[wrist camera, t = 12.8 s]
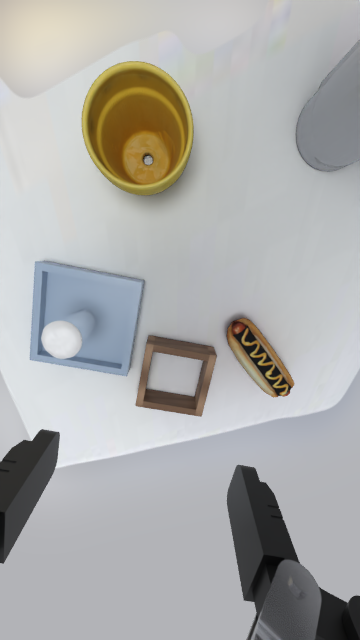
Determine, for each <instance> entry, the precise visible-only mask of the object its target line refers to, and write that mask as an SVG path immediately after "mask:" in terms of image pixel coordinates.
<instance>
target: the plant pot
mask: <svg viewBox="0 0 360 640" xmlns="http://www.w3.org/2000/svg"><path fill="white" fill-rule="evenodd" d="M82 132H83V137H84V142H85V145H86V148H87V151H88V153H89V155H90V157H91V159H92V160H93V162H94V163H95V165H96V166H97V168H98V169H99V170H100V171H101V173H102V174H103V175H104V176H105V177H106V178H107V179H108V180H109V181H110V182H112V183H113V184H114V185H115V186H117V187H118V188H120V189H122V190H124V191H126V192H129V193H132V194H136V195H152V194H156V193H159V192H162V191H164V190H165V189H167V188H168V187H170V186H171V185H172V184H173V183H175V181H176V180H177V179H178V178H179V177H180V175H181V174H182V172H183V171H184V169H185V167H186V164H187V162H188V159H189V156H190V153H191V148H192V143H193V119H192V113H191V110H190V106H189V103H188V101H187V99H186V97H185V95H184V93H183V91H182V90H181V88H180V86H179V85H178V84H177V83H176V82H175V80H174V79H173V78H172V77H171V76H170V75H169V74H167V73H166V72H165V71H163V70H162V69H160V68H158V67H156V66H154V65H152V64H149V63H145V62H139V61H129V62H123V63H119V64H117V65H114V66H112V67H110V68H108V69H107V70H105V71H104V72H103V73H102V74H101V75H100V76H99V77H98V78H97V79H96V80H95V81H94V83H93V84H92V86H91V87H90V89H89V91H88V94H87V96H86V99H85V102H84V106H83V111H82ZM145 155H150V156H151V157H152V158H153V163H152V164H151V165H145V164H144V162H143V158H144V156H145Z"/></svg>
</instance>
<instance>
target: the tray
mask: <svg viewBox="0 0 360 640" xmlns="http://www.w3.org/2000/svg"><path fill="white" fill-rule="evenodd" d="M143 285H144V280H140V279H135V278H130V277H124V276H119V275H114V274H109V273H104V272H99V271H94V270H89V269H84V268H79V267H74V266H68V265H63V264H58V263H53V262H48V261H37V262H35V272H34V290H33V309H32V327H31V346H30V360H34V361H39V362H45V363H51V364H57V365H63V366H69V367H75V368H81V369H87V370H93V371H98V372H104V373H110V374H116V375H122V376H127V375H128V372H129V370H130V365H131V359H132V352H133V346H134V340H135V334H136V328H137V322H138V316H139V310H140V304H141V298H142V291H143ZM82 310H86V311H88V312H91V313H92V314H93V316H94V317H95V327H94V328H93V330H92V331H91V333H90V334H89V335H88V337H87V339H86V340H85V342H84V344H83V345H82V347H81V349H80V350H79V352H78V353H77V354H76V355H75V356H73V357H71V358H66V359H59V358H55V357H54V356H52V355H51V354H49V353H48V352H47V351H46V350H45V348H44V346H43V344H42V341H41V336H42V332H43V329H44V328H45V326H47V325H48V324H49V323H51V322H54V321H57V320H59V319H62V318H64V317H66V316H69V315H71V314H73V313H75V312H78V311H82Z"/></svg>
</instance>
